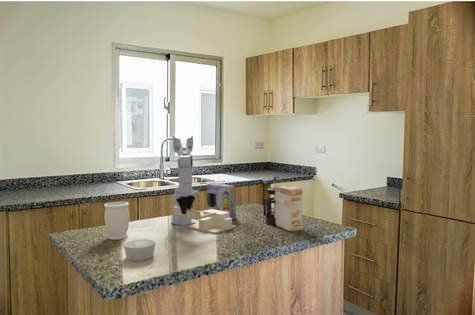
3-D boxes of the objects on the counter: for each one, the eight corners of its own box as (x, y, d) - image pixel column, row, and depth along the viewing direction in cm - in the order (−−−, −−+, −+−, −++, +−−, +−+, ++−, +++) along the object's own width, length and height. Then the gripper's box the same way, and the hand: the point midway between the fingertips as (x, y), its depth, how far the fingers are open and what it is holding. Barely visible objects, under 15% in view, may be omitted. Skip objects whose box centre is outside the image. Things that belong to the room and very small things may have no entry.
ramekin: (117, 258, 143) (117, 244, 143) (140, 250, 152) (140, 237, 152) (138, 264, 137) (138, 249, 137) (161, 255, 146) (161, 242, 146)
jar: (104, 235, 174) (103, 202, 173) (128, 233, 177) (127, 200, 176) (105, 242, 164) (104, 206, 163) (131, 239, 168) (130, 204, 166)
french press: (289, 222, 195) (289, 176, 193) (278, 226, 188) (278, 178, 186) (269, 219, 202) (269, 175, 201) (259, 222, 195) (258, 176, 194)
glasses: (191, 210, 187) (191, 202, 186) (216, 214, 177) (216, 207, 176) (172, 214, 177) (172, 207, 177) (196, 220, 167) (196, 211, 167)
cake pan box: (206, 214, 214) (206, 182, 213) (213, 213, 217) (213, 181, 216) (229, 220, 200) (229, 186, 198) (236, 219, 203) (236, 185, 202)
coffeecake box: (302, 229, 181) (303, 188, 180) (289, 231, 178) (289, 189, 177) (285, 222, 195) (286, 183, 193) (273, 224, 192) (273, 184, 190)
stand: (208, 221, 198) (208, 208, 197) (236, 227, 187) (236, 212, 186) (186, 227, 186) (186, 213, 186) (214, 234, 175) (214, 218, 174)
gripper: (179, 185, 164) (179, 217, 165) (203, 181, 175) (203, 211, 176) (168, 184, 168) (168, 215, 169) (192, 180, 179) (192, 209, 181)
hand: (185, 213), depth 173 cm, fingers closed on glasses, 2 cm apart
